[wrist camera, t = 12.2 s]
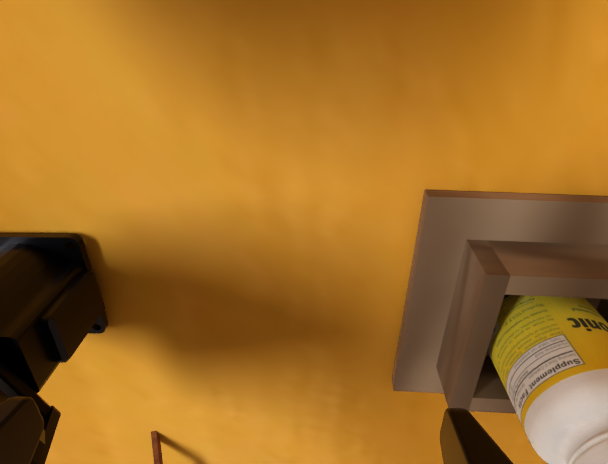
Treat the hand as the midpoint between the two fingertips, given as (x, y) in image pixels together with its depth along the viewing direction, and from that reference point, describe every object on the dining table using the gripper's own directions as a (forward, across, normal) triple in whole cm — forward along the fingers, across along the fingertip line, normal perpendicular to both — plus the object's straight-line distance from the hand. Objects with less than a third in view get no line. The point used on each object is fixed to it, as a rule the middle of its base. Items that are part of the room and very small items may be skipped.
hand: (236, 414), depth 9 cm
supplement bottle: (+12, -13, +7) cm, 19 cm away
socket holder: (+13, -13, +7) cm, 20 cm away
